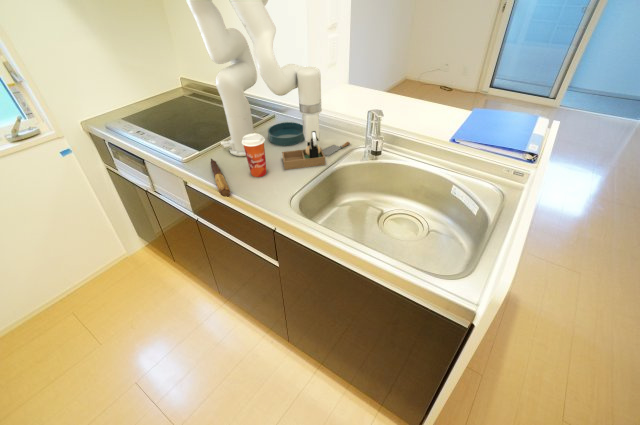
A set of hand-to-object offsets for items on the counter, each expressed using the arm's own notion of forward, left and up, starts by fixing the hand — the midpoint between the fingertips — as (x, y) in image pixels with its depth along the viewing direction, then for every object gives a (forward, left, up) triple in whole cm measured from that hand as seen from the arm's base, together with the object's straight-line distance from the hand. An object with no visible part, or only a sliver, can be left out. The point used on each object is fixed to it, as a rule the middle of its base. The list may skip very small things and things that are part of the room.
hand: (313, 154), depth 118 cm
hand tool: (-30, -16, +2) cm, 33 cm away
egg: (0, 0, -1) cm, 1 cm away
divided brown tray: (-4, 0, -3) cm, 5 cm away
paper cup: (-21, -4, -3) cm, 21 cm away
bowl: (-8, +23, -3) cm, 25 cm away
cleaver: (+10, +8, -3) cm, 13 cm away
